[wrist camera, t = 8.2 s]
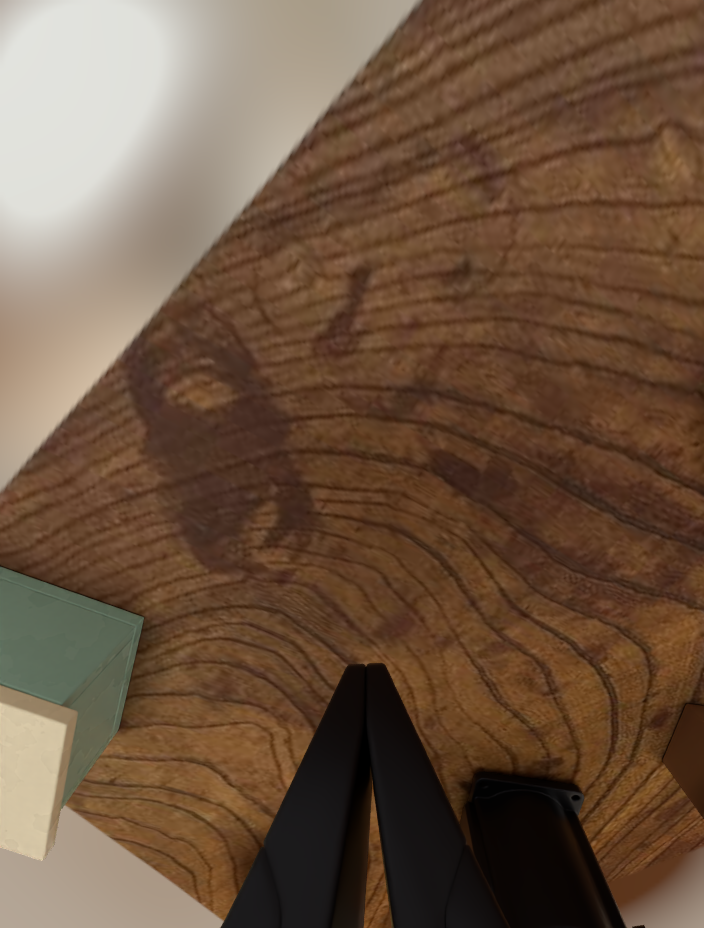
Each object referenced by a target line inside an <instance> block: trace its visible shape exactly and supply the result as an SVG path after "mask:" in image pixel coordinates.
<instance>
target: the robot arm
mask: <svg viewBox="0 0 704 928" xmlns="http://www.w3.org/2000/svg"><path fill="white" fill-rule="evenodd" d="M372 780H373V788H374V796H375V804H376V811H377V819H378V826H379V834H380V841H381V849H382V857H383V864H384V872H385V879H386V887H387V894H388V902H389V909H390V917H391V924H392V928H627V927H626V925H625V922H624V920H623V918H622V916H621V913H620V911H619V909H618V906H617V904H616V902H615V900H614V897H613V895H612V893H611V891H610V888H609V886H608V884H607V881H606V879H605V877H604V875H603V872H602V870H601V868H600V866H599V863H598V861H597V859H596V856H595V854H594V852H593V850H592V847H591V845H590V843H589V841H588V838H587V836H586V834H585V831H584V829H583V827H582V825H581V822H580V820H579V818H578V815H579V812H580V809H581V806H582V803H583V801H584V796H583V793H582V791H581V789H580V787H578V786H577V785H573V784H566V783H559V782H552V781H545V780H538V779H531V778H524V777H517V776H510V775H503V774H496V773H489V772H478V773H476V774H475V775H474V778H473V783H472V787H471V791H470V795H469V799H468V801H467V802H466V803H465V805H464V808H463V812H462V817H461V821H460V824H459V822H458V819H457V817H456V815H455V813H454V811H453V809H452V807H451V804H450V802H449V800H448V798H447V796H446V794H445V792H444V789H443V787H442V785H441V783H440V781H439V779H438V777H437V774H436V772H435V770H434V768H433V766H432V764H431V762H430V759H429V757H428V755H427V753H426V751H425V749H424V747H423V745H422V742H421V740H420V738H419V736H418V734H417V732H416V730H415V727H414V725H413V723H412V721H411V719H410V717H409V715H408V712H407V710H406V708H405V706H404V704H403V702H402V700H401V697H400V695H399V693H398V691H397V689H396V687H395V685H394V682H393V680H392V678H391V676H390V674H389V672H388V670H387V668H386V666H385V664H383V663H370V664H368V665H367V666H365V665H364V664H350V665H348V666H347V667H346V669H345V671H344V673H343V675H342V677H341V680H340V682H339V684H338V686H337V688H336V690H335V692H334V694H333V696H332V698H331V701H330V703H329V705H328V707H327V709H326V711H325V713H324V715H323V717H322V720H321V722H320V724H319V726H318V728H317V730H316V732H315V734H314V736H313V738H312V741H311V743H310V745H309V747H308V749H307V751H306V753H305V755H304V757H303V760H302V762H301V764H300V766H299V768H298V770H297V772H296V774H295V776H294V779H293V781H292V783H291V785H290V787H289V789H288V791H287V793H286V795H285V797H284V800H283V802H282V804H281V806H280V808H279V810H278V812H277V814H276V816H275V819H274V821H273V823H272V825H271V827H270V829H269V831H268V833H267V835H266V838H265V840H264V847H265V848H264V847H261V848H260V850H259V852H258V854H257V856H256V858H255V860H254V862H253V864H252V867H251V869H250V871H249V873H248V875H247V877H246V879H245V881H244V883H243V885H242V887H241V889H240V891H239V893H238V895H237V897H236V899H235V901H234V903H233V905H232V907H231V909H230V911H229V913H228V915H227V917H226V919H225V921H224V922H223V924H222V926H221V928H363V927H364V910H365V894H366V878H367V862H368V846H369V830H370V813H371V797H372ZM632 928H645V926H644V925H640V926H634V927H632Z"/></svg>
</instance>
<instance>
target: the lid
mask: <svg viewBox="0 0 704 928" xmlns="http://www.w3.org/2000/svg"><path fill="white" fill-rule="evenodd" d="M77 716H78V712H77V711H76V710H73V709H70V708H67V707H64V706H61V705H58V704H55V703H52V702H49V701H46V700H43V699H40V698H37V697H34V696H32V695H29V694H26V693H23V692H20V691H17V690H14V689H11V688H8V687H5V686H2V685H0V847H1V848H4V849H7V850H10V851H13V852H16V853H19V854H22V855H25V856H29V857H31V858H34V859H38V860H40V861H43V860H44V859H45V857H46V856H47V855H48V853H49V852H50V850H51V849H52V847H53V846H54V842H55V837H56V831H57V826H58V821H59V815H60V810H61V804H62V798H63V793H64V787H65V782H66V776H67V771H68V765H69V760H70V754H71V749H72V743H73V738H74V732H75V727H76V721H77Z"/></svg>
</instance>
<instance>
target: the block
mask: <svg viewBox="0 0 704 928" xmlns="http://www.w3.org/2000/svg"><path fill="white" fill-rule="evenodd" d="M662 761H663V763H664V764H665V766H666V767H667V768H668V770H669V771H670V773H671V774H672V775H673V777H674V778H675V780H676V781H677V782H678V784H679V785H680V787H681V788H682V789H683V791H684V792H685V794H686V795H687V796H688V798H689V799H690V801H691V802H692V803H693V805H694V806H695V808H696V809H697V810H698V812H699V813H700V814H701V816H702V817H703V819H704V706H701V705H694V704H686V706H685V708H684V711H683V713H682V715H681V718H680V720H679V722H678V725H677V727H676V730H675V732H674V734H673V737H672V739H671V741H670V744H669V746H668V749H667V751H666V753H665V756H664V758H663V760H662Z"/></svg>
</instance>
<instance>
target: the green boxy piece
mask: <svg viewBox="0 0 704 928" xmlns="http://www.w3.org/2000/svg"><path fill="white" fill-rule="evenodd" d="M143 621H144V617H142V616H139V615H136V614H133V613H130V612H128V611H125V610H122V609H119V608H116V607H113V606H111V605H108V604H105V603H102V602H99V601H96V600H94V599H91V598H88V597H85V596H82V595H80V594H77V593H74V592H71V591H68V590H65V589H63V588H60V587H57V586H54V585H51V584H48V583H46V582H43V581H40V580H37V579H34V578H31V577H29V576H26V575H23V574H20V573H17V572H14V571H12V570H9V569H6V568H3V567H0V685H2V686H5V687H8V688H11V689H14V690H17V691H20V692H23V693H26V694H29V695H32V696H34V697H37V698H40V699H43V700H46V701H49V702H52V703H55V704H58V705H61V706H64V707H67V708H70V709H73V710H76V711H77V712H78V716H77V721H76V727H75V732H74V738H73V743H72V749H71V754H70V760H69V765H68V771H67V776H66V782H65V787H64V793H63V798H62V804H61V809H62V808H63V806H64V805H65V804H66V802H67V801H68V799H69V798H70V797H71V795H72V794H73V793H74V791H75V790H76V788H77V787H78V786H79V784H80V783H81V781H82V780H83V779H84V777H85V776H86V775H87V773H88V772H89V770H90V769H91V768H92V766H93V765H94V763H95V762H96V761H97V759H98V758H99V756H100V755H101V754H102V752H103V751H104V750H105V748H106V747H107V745H108V744H109V743H110V740H112V738H113V737H114V736H115V734H116V733H117V731H118V730H119V726H120V722H121V717H122V713H123V708H124V704H125V700H126V695H127V691H128V686H129V682H130V678H131V673H132V669H133V664H134V660H135V656H136V651H137V647H138V642H139V638H140V634H141V629H142V625H143ZM60 811H61V810H60Z"/></svg>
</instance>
